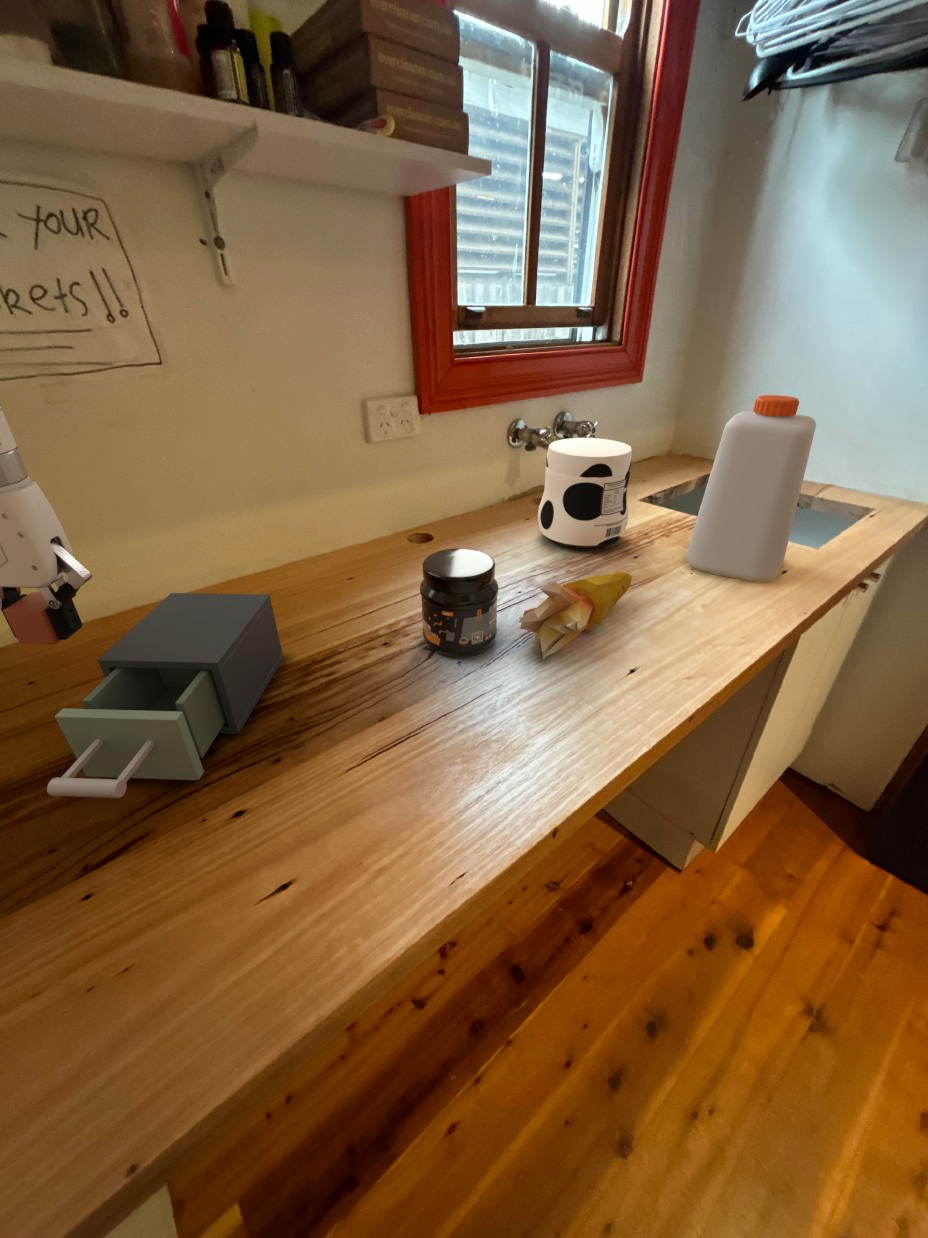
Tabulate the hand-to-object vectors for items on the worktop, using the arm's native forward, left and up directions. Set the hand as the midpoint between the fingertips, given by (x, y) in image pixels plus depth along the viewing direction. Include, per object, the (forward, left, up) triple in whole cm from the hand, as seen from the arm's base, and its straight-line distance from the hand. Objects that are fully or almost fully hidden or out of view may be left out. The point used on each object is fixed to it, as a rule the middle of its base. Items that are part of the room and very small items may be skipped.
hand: (49, 631), depth 61 cm
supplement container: (+46, +15, -10) cm, 49 cm away
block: (0, 0, 0) cm, 0 cm away
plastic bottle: (+94, +42, -10) cm, 103 cm away
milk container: (+68, +53, -10) cm, 86 cm away
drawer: (+16, -9, -9) cm, 20 cm away
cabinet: (+16, +2, -10) cm, 18 cm away
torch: (+64, +19, -10) cm, 67 cm away
